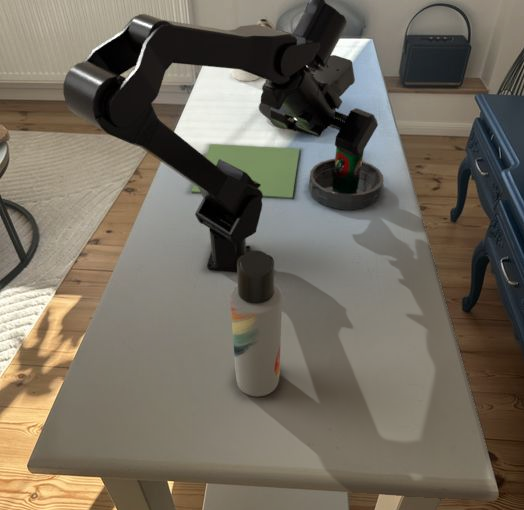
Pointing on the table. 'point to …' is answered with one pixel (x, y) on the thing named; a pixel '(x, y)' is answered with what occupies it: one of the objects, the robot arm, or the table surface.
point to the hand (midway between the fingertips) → (339, 142)
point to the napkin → (260, 166)
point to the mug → (243, 75)
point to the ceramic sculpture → (265, 23)
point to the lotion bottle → (256, 324)
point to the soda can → (346, 172)
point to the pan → (361, 198)
